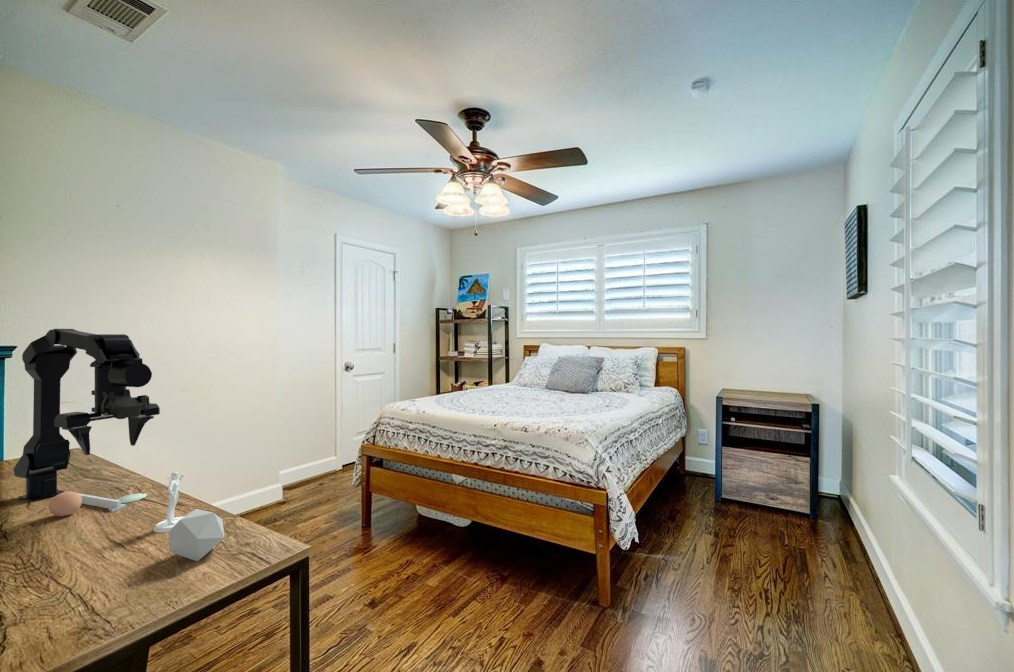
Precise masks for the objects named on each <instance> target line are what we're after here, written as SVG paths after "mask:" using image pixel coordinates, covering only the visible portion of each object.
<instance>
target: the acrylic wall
mask: <svg viewBox="0 0 1014 672" xmlns="http://www.w3.org/2000/svg"><path fill="white" fill-rule="evenodd" d="M78 494H79V495H80V496H81V498H82V504H81V505H89V506H92V507H93V506H94V507H98V508H105V509H108V512H111V513H113V512H116V511H119V510H122V509H125V508H127V504H126V503H122V504H121V501H120V500H116V498H115V499H114V498H109V497H108V498H107V497H103V496H96V495H91V494H83V493H78Z"/></svg>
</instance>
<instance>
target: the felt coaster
mask: <svg viewBox="0 0 1014 672" xmlns="http://www.w3.org/2000/svg"><path fill="white" fill-rule="evenodd" d="M142 493H144V492H139V493H131V494H127V495H124V496H121V497H118V498H115V500H120V501H121V505H122V504H130V503H135V502H134V501H136V502H139V501H141V500H140V499H142V498H145V497H146V496H147V494H148V493H146V494H145V493H144V494H142ZM146 498H147V497H146ZM146 498H145V499H146ZM138 500H139V501H138ZM142 500H143V499H142Z"/></svg>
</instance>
